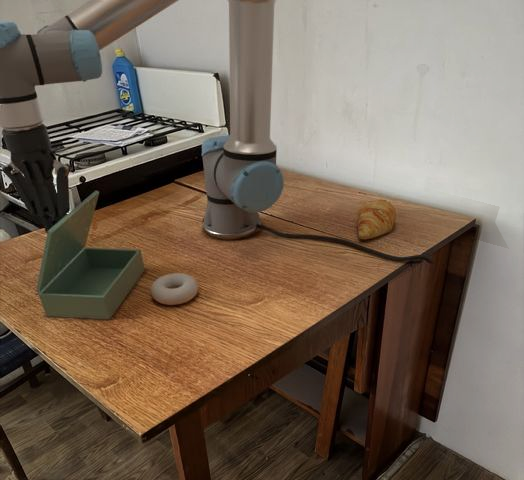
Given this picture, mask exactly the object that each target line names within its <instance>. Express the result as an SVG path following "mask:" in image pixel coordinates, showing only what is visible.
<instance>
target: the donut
mask: <svg viewBox="0 0 524 480" xmlns="http://www.w3.org/2000/svg"><path fill="white" fill-rule="evenodd" d="M198 292H199V284H198V281H197V280H196V279H195V278H194V276H192V275H190V274H187V273H183V272H174V273H167V274H165V275H161V276H160V277H158V278H157V279H156V280H154V281H153V282H152V284H151V286H150V295H151V297H152V298H153V299H154V300H155V302H157V303H160V304H162V305H166V306H176V305H182V304H185V303H187V302H189V301H191V300H192V299H193V298H195V297H196V295H197V294H198Z"/></svg>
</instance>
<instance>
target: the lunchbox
mask: <svg viewBox="0 0 524 480" xmlns="http://www.w3.org/2000/svg"><path fill="white" fill-rule="evenodd" d="M143 259H144V258H143V255H142V249H131V248H130V249H129V248H104V247H103V248H102V247H84V248H83V249H82V250H81V251H80V252H79V253H78V254H77V255H76V256H75V257H74V258H73V259H72V260H71V261H70V262H69V264H68V265H67V266H66V267H65V268H64V269H63V270H62V271H61V272H60V273H59V274H58V275H57V276H56V277H55V278H54V279H53V280H52V281H51V282H50V283H49V284H48V285H47V286H46V287H45V288H44V289H43V290H42V291H41V292H40V293H39V292H38V297H39V299H40V302H41V305H42V308H43V311H44V314H45V316H46V317H57V318H75V319H93V320H108V321H109V320H111V319H112V316H114V314H115V313H116V311H117V310H118V309H119V307H120V306H121V304H122V303H123V301H124V300H125V299H126V297H127V296H128V294H129V293H130V292H131V290H132V289H133V288H134V286H135V285H136V283H137V282H138V280H139V279H140V278H141V276H142V275H143V273H145V271H146V270H145V269H146V268H145V264H144V260H143Z"/></svg>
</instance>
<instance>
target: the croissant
mask: <svg viewBox="0 0 524 480" xmlns="http://www.w3.org/2000/svg"><path fill="white" fill-rule="evenodd" d="M396 218H397V212H396V207H395V206H394V205H393V204H392V203H391V202H390V201H388V200H386V199H375V200H370V201H368V202H366V203H364V204H363V205H361V206H360V207H359V208H358V209H357V211H356V212H355V224H356V226H357V232H358V238H359V239H360V240H370V239H375V238H377V237H380V236H382V235H385V234H387V233H390V232H391V231H393V228H394V226H395V221H396Z"/></svg>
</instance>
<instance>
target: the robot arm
mask: <svg viewBox="0 0 524 480" xmlns="http://www.w3.org/2000/svg"><path fill="white" fill-rule="evenodd" d="M178 1H179V0H88V1H86V2H84V3H83V4H81V5H80V6H78V7H76V8H74V10H72V11H70V12H69V13H67V14H66V15H65V16H63V17H61V18H59V19H58V20H56V21H55V22H53V23H52V24H50V25H44V26H43V27H41V28H40V29H39V30H38V31H37V32H36V33H35V34H24V33H22V34H21V31H20V30H19V27H18V25H17V24H16V22H14V21H10V20H9V21H0V127H1V128H2V129H1V130H2V131H1V134H2V137H3V140H4V143H5V146H6V149H7V151H8V152H9V153H10V158H9V159H10V162H9V163H8V164H6V165H5V166H3V167H2V168H1V171H2V172H3V174H4V175H5V176H6V177H7V178H8V179H9V180H10V182H11V184H12V185H13V187H14V188H15V191H16V193H17V194H18V196H19V197H20V198H21V202H22V203H23V204H24V206H25V208H26V210H27V211H28V213H29V215H30V216H32V217H35V216H36V217H38V218H39V219H40V220H41V222H42V226H43V228H44V231H45V233H46V234H47V232H48V230H49V229H51V228H52V227H53V226H54V225H55V224H57V223H58V222H59V221H60V220H61V219H62V218H64V217H65V216H66V215H67V214H68V213H70V212H71V204H70V202H71V201H70V188H69V187H70V184H69V183H70V182H69V175H70V172H71V169H72V166H71V165H70V164H69V163H65V164H64V163H63V162H61V161H59V160H58V159H57V156H56V154H55V153H54V152H53V150H52V142H51V139H50V138H51V137H50V136H49V133H48V129H47V126H46V125H45V124H44V123H43V122H44V120H45V119H44V116H43V115H44V114H43V111H42V109H41V108H42V107H41V105H40V100H39V98H38V94H37V91H36V86H37V87H38V86H46V85H55V84H64V83H75V82H83V83H86V82H87V81H91V80H96V79H100V78H101V77H102V75H103V62H102V57H101V50H103V49H105V48H106V47H108V46H109V45H111V44H112V43H114V42H115V41H117V40H119V39H120V38H122V37H123V36H125V35H127V34H128V33H130V32H132V31H133V30H135V29H136V28H137V27H139V26H141V25H142V24H144V23H146V22H148V21H149V20H150V19H152V18H153V17H155V16H156V15H158V14H160V13H161V12H163V11H164V10H166V9H167V8H169V7H170V6H172V5H175V3H177V2H178ZM227 2H228V39H229V40H228V41H229V45H228V48H229V52H228V53H229V117H230V118H229V121H230V122H229V130H230V133H229V134H226V135H219V136H214V137H209V138H206V139H205V140H203V142H202V143H201V157H202V163H203V165H202V166H203V174H204V182H205V191H206V198H207V199H206V200H207V203H206V207H205V211H204V216H203V218H202V222H201V223H202V225H203V226H202V227H203V232H204V234H205V235H206V236H208V237H210V238H213V239H215V240H223V241H232V240H241V239H246V238H249V237H252V236H254V235H255V234H257V233H259V231H260V230H263V231H267V232H269V233H271V234H274V235H276V236H279V237H284V238H292V239H312V240H321V241H330V242H335V243H338V244H339V243H340V244H344V245H347V246H350V247H353V248H356V249H358V250H361V251H364V252H366V253H369V254H373V255H375V256H378V257H381V258H383V259H386V260H391V261H395V262H407V261H409V262H410V261H413V260H423V261H425V262H427V263H428V264H430V265H433V264H434V261H433V259H432V258H431V257H429V256H427V255H425V254H414V255H409V256H397V255H391V254H388V253H384V252H382V251H378V250H376V249H373V248H371V247H367V246H364V245H361V244H359V243H357V242H354V241H350V240H347V239H343V238H338V237H333V236H326V235H319V234H307V233H306V234H303V233H286V232H281V231H278V230H275V229H274V228H272V227H268V226H266V225H262V219H261V216H260V213H263V212H265V211H267V210H268V209H270V208H272V207H273V205H274V204H275V203H277V202H278V200H279V199H280V197H281V195H282V193H283V190H284V185H285V182H284V181H285V179H284V174H283V172H282V171H281V169H280V167H279V166H278V165H277V152H278V151H277V149H278V148H277V144H276V143H275V142H274V141H273V140H272V139H271V123H272V122H271V120H272V119H271V118H272V92H273V91H272V89H273V88H272V87H273V61H274V59H273V57H274V32H275V31H274V30H275V29H274V28H275V5H276V2H277V0H227ZM53 171H54V174H55V175H56V176H55V178H54V174H53ZM54 180H55V183H54ZM55 185H56V186H55Z"/></svg>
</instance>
